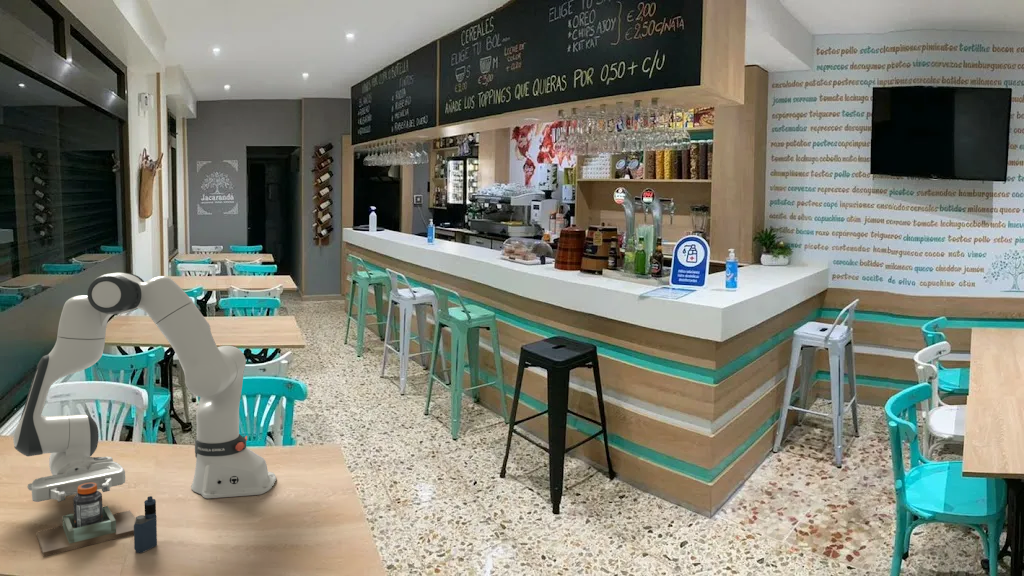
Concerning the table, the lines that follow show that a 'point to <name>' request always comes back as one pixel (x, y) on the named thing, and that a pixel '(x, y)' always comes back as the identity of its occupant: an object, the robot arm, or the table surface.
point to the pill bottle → (87, 505)
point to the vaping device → (146, 527)
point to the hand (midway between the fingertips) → (84, 493)
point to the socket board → (85, 532)
